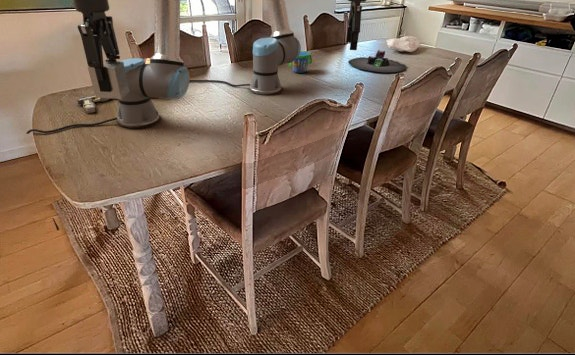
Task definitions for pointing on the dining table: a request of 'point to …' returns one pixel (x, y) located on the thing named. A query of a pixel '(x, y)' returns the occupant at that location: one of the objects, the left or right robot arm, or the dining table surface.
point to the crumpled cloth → (404, 44)
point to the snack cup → (301, 62)
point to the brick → (111, 80)
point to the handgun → (90, 102)
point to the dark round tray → (377, 63)
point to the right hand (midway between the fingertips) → (351, 46)
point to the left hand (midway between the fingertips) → (111, 87)
